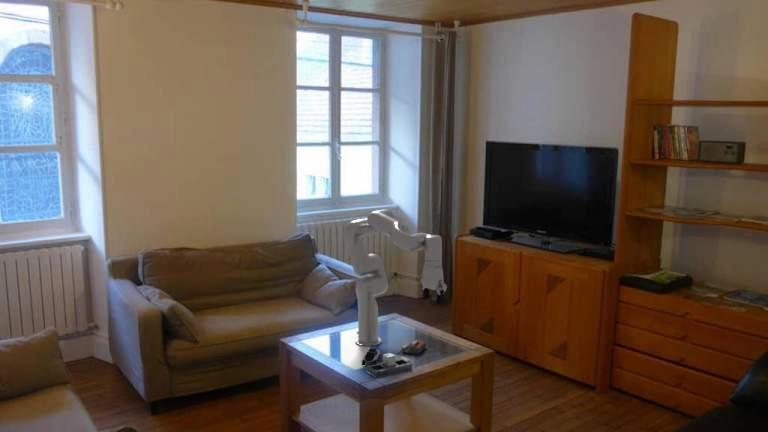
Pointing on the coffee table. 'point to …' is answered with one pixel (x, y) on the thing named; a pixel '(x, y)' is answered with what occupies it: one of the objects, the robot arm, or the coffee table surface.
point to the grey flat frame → (382, 370)
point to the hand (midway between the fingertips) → (433, 300)
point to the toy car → (371, 356)
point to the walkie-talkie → (413, 347)
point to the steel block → (389, 360)
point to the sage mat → (402, 358)
